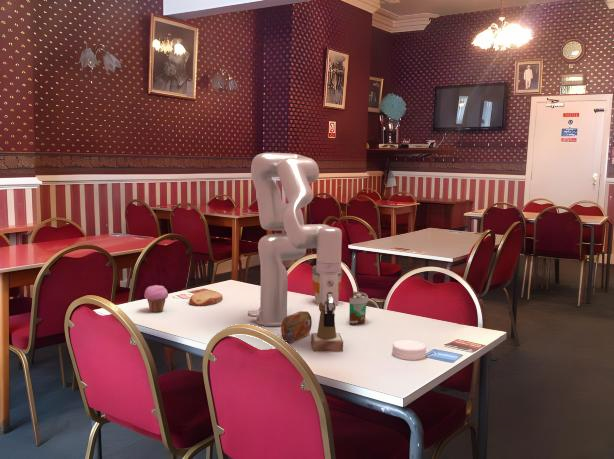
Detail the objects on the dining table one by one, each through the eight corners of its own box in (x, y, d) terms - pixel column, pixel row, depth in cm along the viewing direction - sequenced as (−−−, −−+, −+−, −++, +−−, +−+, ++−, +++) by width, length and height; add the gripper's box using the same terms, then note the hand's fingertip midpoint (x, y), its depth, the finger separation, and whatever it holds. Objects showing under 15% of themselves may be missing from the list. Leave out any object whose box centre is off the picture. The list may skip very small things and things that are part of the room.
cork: (317, 339, 180) (318, 303, 178) (315, 333, 186) (316, 299, 184) (337, 339, 180) (338, 303, 179) (335, 333, 186) (335, 299, 185)
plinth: (313, 351, 178) (313, 340, 178) (311, 342, 187) (311, 332, 187) (343, 351, 179) (343, 340, 179) (339, 342, 188) (339, 332, 187)
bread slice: (213, 294, 255) (213, 286, 255) (235, 302, 241) (235, 293, 241) (175, 299, 244) (175, 290, 244) (196, 308, 230) (196, 299, 230)
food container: (366, 327, 206) (367, 299, 205) (348, 326, 207) (349, 298, 206) (369, 318, 218) (370, 292, 217) (353, 317, 219) (353, 291, 218)
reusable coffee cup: (306, 301, 245) (306, 265, 243) (332, 298, 250) (333, 263, 248) (319, 307, 233) (320, 270, 232) (347, 305, 239) (348, 268, 237)
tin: (287, 345, 184) (287, 318, 183) (278, 343, 186) (279, 317, 185) (312, 334, 197) (312, 309, 196) (304, 332, 198) (304, 308, 198)
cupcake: (168, 313, 220) (168, 287, 219) (144, 314, 218) (143, 287, 217) (168, 307, 228) (167, 282, 227) (144, 308, 226) (144, 283, 225)
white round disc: (389, 350, 182) (389, 339, 181) (420, 350, 182) (421, 339, 182) (396, 361, 172) (396, 349, 171) (429, 361, 172) (430, 349, 172)
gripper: (344, 272, 172) (343, 330, 174) (337, 263, 189) (335, 315, 191) (319, 272, 171) (317, 330, 173) (314, 262, 189) (312, 315, 190)
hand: (327, 322), depth 182 cm, fingers open, 9 cm apart
